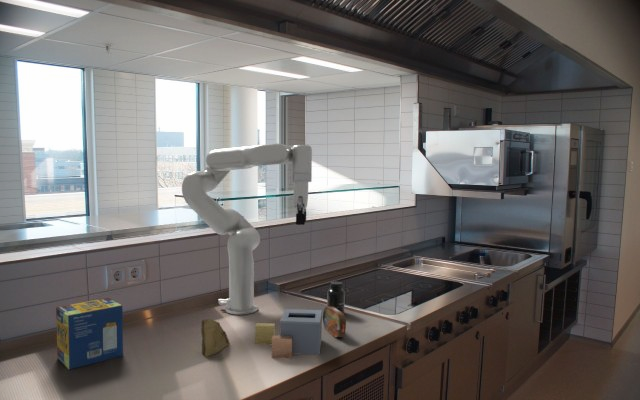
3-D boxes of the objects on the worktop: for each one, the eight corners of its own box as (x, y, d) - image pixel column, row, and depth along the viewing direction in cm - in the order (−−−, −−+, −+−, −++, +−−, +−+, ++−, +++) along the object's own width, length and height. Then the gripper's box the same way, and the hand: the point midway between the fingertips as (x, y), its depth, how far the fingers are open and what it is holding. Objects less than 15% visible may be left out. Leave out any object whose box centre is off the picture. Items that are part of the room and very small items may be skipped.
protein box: (56, 359, 139) (55, 306, 138) (110, 345, 150) (109, 297, 149) (68, 370, 132) (67, 315, 130) (124, 355, 142) (123, 304, 141)
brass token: (273, 344, 153) (273, 326, 152) (255, 343, 153) (255, 325, 152) (274, 341, 155) (275, 323, 155) (256, 341, 155) (256, 323, 155)
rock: (225, 332, 156) (195, 333, 151) (233, 316, 151) (202, 317, 146) (231, 362, 149) (200, 364, 144) (240, 346, 144) (208, 347, 139)
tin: (322, 326, 170) (322, 303, 170) (330, 325, 171) (330, 302, 171) (338, 341, 156) (338, 316, 156) (347, 340, 157) (347, 315, 157)
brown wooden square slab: (291, 358, 142) (291, 339, 141) (271, 358, 142) (271, 338, 142) (292, 355, 144) (292, 336, 144) (272, 354, 145) (273, 335, 144)
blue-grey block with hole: (280, 353, 146) (280, 320, 145) (285, 338, 158) (285, 309, 157) (319, 354, 145) (319, 322, 144) (321, 340, 157) (321, 310, 156)
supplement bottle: (343, 316, 182) (343, 285, 181) (325, 315, 183) (325, 284, 182) (345, 311, 188) (346, 281, 187) (328, 309, 190) (329, 280, 189)
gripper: (293, 177, 189) (293, 220, 190) (289, 178, 171) (289, 225, 173) (312, 177, 189) (312, 220, 190) (310, 178, 171) (310, 226, 173)
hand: (301, 223), depth 181 cm, fingers open, 9 cm apart
